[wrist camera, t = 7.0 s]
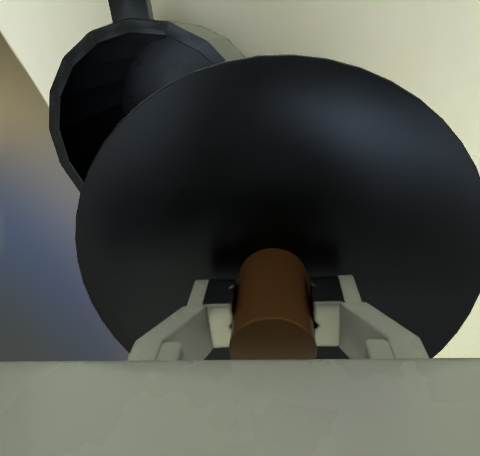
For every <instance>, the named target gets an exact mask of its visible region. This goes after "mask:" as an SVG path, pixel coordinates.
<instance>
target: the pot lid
mask: <svg viewBox="0 0 480 456" xmlns="http://www.w3.org/2000/svg"><path fill="white" fill-rule="evenodd" d="M75 241H76V250H77V259H78V264H79V268H80V272H81V276H82V279H83V283H84V285H85V288H86V290H87V292H88V295H89V298H90V300H91V302H92V304H93V306H94V307H95V309H96V311H97V313H98V315H99V316H100V318H101V320H102V321H103V323H104V324H105V325H106V327H107V328H108V329H109V331H110V332H111V333H112V335H113V336H114V338H115V339H116V340H118V342H119V343H120V344H121V345H122V346H123V347H124V348H125V349H126V350H127V351H128V352H129V353H130V352H131V349H132V347H133V345H134V343H135V341H136V340H137V339H139V338H140V337H142V336H143V335H144V334H146V333H147V332H148V331H150V330H151V329H153V328H154V327H155V326H157V325H158V324H160V323H161V322H162V321H164V320H165V319H166V318H168V317H169V316H171V315H172V314H173V313H175V312H176V311H177V310H179V309H180V308H182V307H184V306H187V303H188V300H189V297H190V294H191V291H192V288H193V285H194V282H195V281H196V280H205V279H209V280H210V279H236V280H237V284H238V289H237V296H236V302H235V310H234V316H233V322H232V329H231V336H230V343H229V347H222V348H213V350H212V351H211V352H210V353H209V354H208V355H207V356H206V358H205V359H204V360H287V359H350V358H349V357H348V356H347V355H346V354H345V353H344V352H343V351H342V350H341V349H340V348H339V346H316V338H315V331H314V324H313V316H312V309H311V301H310V290H309V277H323V276H338V275H353V277H354V280H355V283H356V286H357V289H358V292H359V295H360V298H361V301H362V302H367V303H368V304H370V305H371V306H373V307H374V308H376V309H377V310H379V311H380V312H382V313H383V314H385V315H386V316H388V317H389V318H391V319H392V320H394V321H395V322H397V323H398V324H400V325H401V326H403V327H404V328H406V329H407V330H409V331H410V332H412V333H413V334H415V335H416V336H418V337H419V338H420V340H421V342H422V344H423V346H424V348H425V350H426V352H427V354H428V356H429V358H433V357H434V356H435V355H437V354H438V353H439V352H440V351H441V350H442V349H443V348H444V347H445V346H446V345H447V343H448V342H449V341H450V340H451V339H452V338H453V337H454V335H455V334H456V333H457V332H458V330H459V329H460V327H461V326H462V324H463V323H464V321H465V320H466V318H467V317H468V315H469V314H470V312H471V310H472V308H473V306H474V304H475V302H476V300H477V298H478V296H479V294H480V176H479V173H478V170H477V168H476V166H475V164H474V162H473V161H472V159H471V157H470V155H469V154H468V152H467V150H466V148H465V147H464V145H463V143H462V142H461V140H460V139H459V138H458V137H457V136H456V134H455V133H454V132H453V131H452V130H451V128H450V127H449V126H448V125H447V123H446V122H445V121H444V120H443V119H442V118H441V117H440V116H439V115H438V114H436V113H435V112H434V111H433V110H432V109H431V108H430V107H428V106H427V105H426V104H425V103H424V102H423V101H422V100H420V99H419V98H418V97H416V96H415V95H413V94H411V93H410V92H408V91H407V90H405V89H403V88H402V87H400V86H399V85H397V84H395V83H394V82H392V81H390V80H388V79H386V78H383V77H381V76H379V75H376V74H374V73H372V72H370V71H367V70H365V69H363V68H360V67H357V66H353V65H350V64H346V63H342V62H338V61H335V60H331V59H327V58H321V57H312V56H303V55H295V54H284V55H257V56H251V57H246V58H240V59H234V60H228V61H224V62H221V63H218V64H215V65H212V66H209V67H206V68H203V69H200V70H197V71H194V72H192V73H190V74H188V75H186V76H184V77H182V78H180V79H178V80H176V81H174V82H172V83H170V84H168V85H166V86H164V87H163V88H161V89H160V90H158V91H157V92H156V93H154V94H153V95H151V96H150V97H148V98H147V99H146V100H144V101H143V102H141V103H140V104H139V105H138V106H137V107H136V108H134V109H133V110H132V111H131V112H130V113H129V114H128V115H127V116H126V117H125V118H124V119H123V120H122V121H121V122H120V123H119V124H118V125H117V126H116V128H115V129H114V130H113V131H112V133H111V134H110V135H109V137H108V138H107V139H106V141H105V142H104V143H103V144H102V146H101V148H100V150H99V151H98V153H97V155H96V157H95V159H94V160H93V162H92V164H91V166H90V168H89V170H88V173H87V176H86V179H85V181H84V184H83V187H82V190H81V193H80V199H79V204H78V209H77V214H76V235H75Z"/></svg>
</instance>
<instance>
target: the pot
mask: <svg viewBox="0 0 480 456" xmlns="http://www.w3.org/2000/svg"><path fill="white" fill-rule="evenodd" d="M108 2H109V6H110V11H111V15H112V20H113V23H112V24H109V25H106V26H104V27H101V28H98V29H95V30H92V31H91V32H89V33H88V34H87V35H86V36H85V37H84V38H83V39H82V40H81V41H80V42H79V43H78V44H77V45H76V46H74V47H73V48H72V49H71V50H70V51H69V52H68V53H67V54H66V55H65V56H64V58H63V60H62V62H61V64H60V67H59V69H58V72H57V74H56V77H55V79H54V82H53V84H52V87H51V89H50V98H49V128H50V129H49V130H50V133H51V136H52V139H53V142H54V146H55V149H56V152H57V155H58V158H59V161H60V163H61V165H62V167H63V168H64V170H65V171H66V173H67V174H68V176H69V177H70V179H71V180H72V181H73V183H74V184H75V186H76V187H77V189H78V190H79V191H80V193H81V190H82V187H83V184H84V181H85V179H86V176H87V173H88V170H89V168H90V166H91V164H92V162H93V160H94V159H95V157H96V155H97V153H98V151H99V150H100V148H101V146H102V144H103V143H104V142H105V141H106V139H107V138H108V137H109V135H110V134H111V133H112V131H113V130H114V129H115V128H116V126H117V125H118V124H119V123H120V122H121V121H122V120H123V119H124V118H125V117H126V116H127V115H128V114H129V113H130V112H131V111H132V110H133V109H134V108H136V107H137V106H138V105H139V104H140V103H141V102H143V101H144V100H146V99H147V98H148V97H150V96H151V95H153V94H154V93H156V92H157V91H158V90H160V89H161V88H163V87H164V86H166V85H168V84H170V83H172V82H174V81H176V80H178V79H180V78H182V77H184V76H186V75H188V74H190V73H192V72H194V71H197V70H200V69H203V68H206V67H209V66H212V65H215V64H218V63H221V62H224V61H228V60H234V59H240V58H245V57H244V56H243V54H242V53H241V52H240V51H239V50H238V49H237V48H236V47H235V46H234V45H233V44H232V43H231V42H230V41H229V40H228V39H227V38H225V37H223V36H221V35H219V34H217V33H215V32H213V31H211V30H209V29H207V28H205V27H203V26H198V25H191V24H184V23H176V22H169V21H157V20H154V19H153V13H152V8H151V2H150V0H108Z"/></svg>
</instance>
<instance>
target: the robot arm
mask: <svg viewBox="0 0 480 456" xmlns="http://www.w3.org/2000/svg"><path fill="white" fill-rule="evenodd" d="M237 289H238V284H237V280H236V279H210V280H209V279H205V280H196V281H195V282H194V285H193V288H192V291H191V294H190V297H189V300H188V303H187V306H184V307H182V308H180V309H179V310H177V311H176V312H175V313H173V314H172V315H171V316H169V317H168V318H166V319H165V320H164V321H162V322H161V323H160V324H158V325H157V326H155V327H154V328H153V329H151V330H150V331H148V332H147V333H146V334H144V335H143V336H142V337H140V338H139V339H137V340H136V341H135V343H134V345H133V347H132V349H131V352H130V354H129V356H128V358H127V360H126V361H23V362H22V361H21V362H20V361H17V362H16V361H15V362H0V456H480V358H429V356H428V354H427V352H426V350H425V348H424V346H423V344H422V342H421V340H420V338H419V337H418V336H416V335H415V334H413V333H412V332H410V331H409V330H407V329H406V328H404V327H403V326H401V325H400V324H398V323H397V322H395V321H394V320H392V319H391V318H389V317H388V316H386V315H385V314H383V313H382V312H380V311H379V310H377V309H376V308H374V307H373V306H371V305H370V304H368V303H367V302H362V301H361V298H360V295H359V292H358V289H357V286H356V283H355V280H354V277H353V275H338V276H323V277H309V290H310V301H311V309H312V316H313V324H314V331H315V338H316V346H339V348H340V349H341V350H342V351H343V352H344V353H345V354H346V355H347V356H348V357H349V358H350V359H287V360H204V359H205V358H206V356H207V355H208V354H209V353H210V352H211V351H212V350H213V348H222V347H229V343H230V336H231V329H232V322H233V316H234V310H235V302H236V296H237Z"/></svg>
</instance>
